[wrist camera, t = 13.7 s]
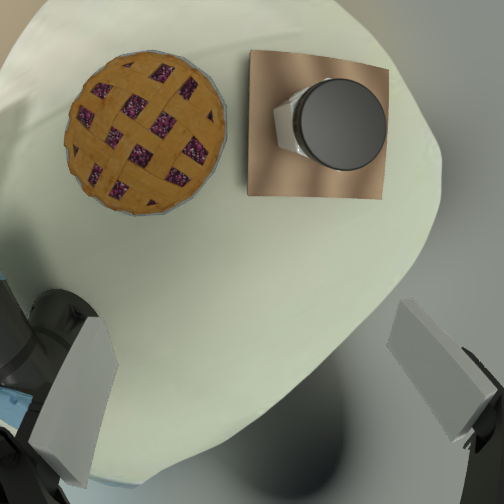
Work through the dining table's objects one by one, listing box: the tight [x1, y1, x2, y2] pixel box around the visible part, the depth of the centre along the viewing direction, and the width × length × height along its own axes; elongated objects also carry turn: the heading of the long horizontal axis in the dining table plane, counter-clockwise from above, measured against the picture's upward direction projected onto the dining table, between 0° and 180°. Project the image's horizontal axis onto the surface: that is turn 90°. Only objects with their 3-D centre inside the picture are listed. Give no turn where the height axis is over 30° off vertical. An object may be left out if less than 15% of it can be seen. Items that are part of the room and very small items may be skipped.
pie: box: [64, 50, 227, 216], centre depth 34 cm, size 22×22×5 cm
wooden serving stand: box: [247, 50, 389, 200], centre depth 36 cm, size 18×18×5 cm
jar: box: [273, 78, 387, 172], centre depth 28 cm, size 9×8×12 cm
